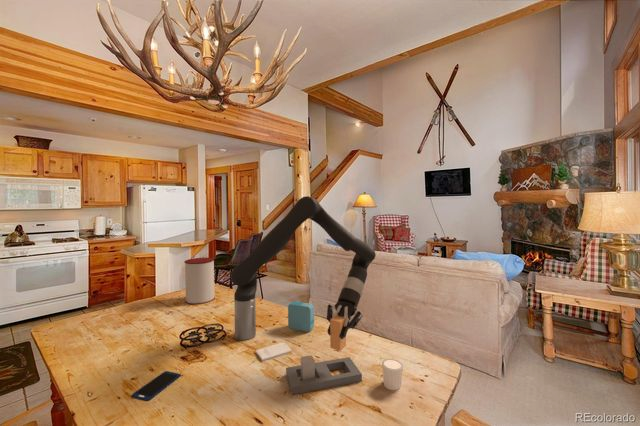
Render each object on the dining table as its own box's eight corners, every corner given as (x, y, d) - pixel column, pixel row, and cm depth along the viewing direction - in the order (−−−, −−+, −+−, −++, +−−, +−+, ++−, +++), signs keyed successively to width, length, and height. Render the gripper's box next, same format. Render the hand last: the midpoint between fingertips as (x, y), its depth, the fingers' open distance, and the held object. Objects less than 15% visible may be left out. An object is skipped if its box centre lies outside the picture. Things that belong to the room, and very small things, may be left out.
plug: (336, 342, 102) (336, 315, 101) (346, 346, 99) (345, 318, 99) (330, 347, 98) (330, 319, 98) (340, 351, 96) (340, 322, 96)
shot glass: (379, 378, 97) (379, 358, 97) (398, 377, 97) (398, 357, 97) (385, 392, 90) (385, 370, 90) (406, 390, 91) (406, 369, 90)
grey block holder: (291, 395, 89) (291, 371, 89) (286, 374, 99) (285, 353, 99) (361, 381, 96) (361, 359, 95) (349, 363, 106) (349, 343, 106)
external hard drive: (291, 353, 114) (262, 363, 108) (283, 345, 121) (255, 353, 115) (291, 350, 114) (262, 358, 108) (283, 341, 121) (255, 349, 115)
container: (178, 303, 170) (177, 262, 169) (196, 294, 187) (195, 257, 186) (205, 305, 167) (204, 263, 166) (220, 295, 184) (219, 257, 183)
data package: (314, 328, 136) (314, 304, 135) (310, 332, 132) (310, 307, 131) (292, 324, 141) (292, 300, 140) (287, 328, 136) (287, 303, 136)
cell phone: (129, 398, 88) (129, 395, 88) (165, 372, 102) (165, 370, 102) (148, 402, 86) (148, 400, 86) (182, 376, 100) (182, 373, 100)
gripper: (331, 283, 108) (313, 326, 99) (365, 290, 100) (350, 337, 91) (338, 293, 113) (322, 335, 103) (371, 300, 105) (357, 346, 95)
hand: (335, 336), depth 97 cm, fingers closed on plug, 4 cm apart
